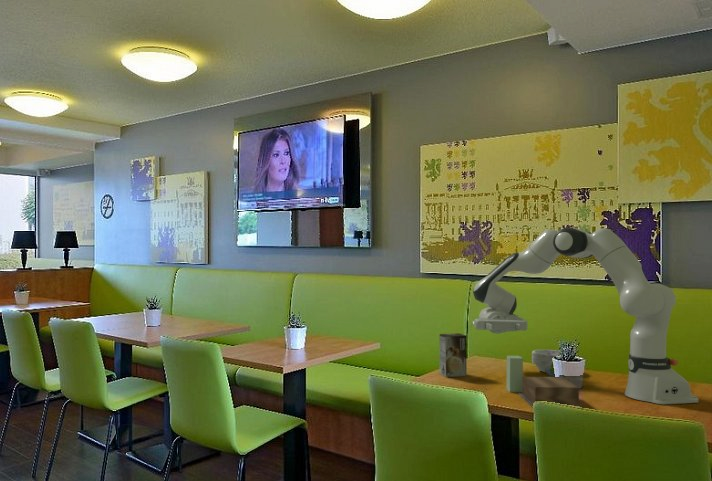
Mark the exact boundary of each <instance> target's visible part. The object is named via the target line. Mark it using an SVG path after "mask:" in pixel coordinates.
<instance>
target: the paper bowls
mask: <svg viewBox="0 0 712 481" xmlns="http://www.w3.org/2000/svg"><path fill="white" fill-rule="evenodd" d="M559 351H560V350H555V349H535V350H534V349H533V350H532V352H531V363H532V364H533V365H535V366H536V368H537V370H538V371H539V372H541V371H542V372H541V373H545V370H546V368H547V369H551V365H552V358H553V357H556V356H557V355H559ZM549 365H550V366H549ZM546 374H548V373H547V372H546Z"/></svg>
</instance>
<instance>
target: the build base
mask: <svg viewBox="0 0 712 481" xmlns="http://www.w3.org/2000/svg"><path fill="white" fill-rule="evenodd" d="M518 396H520V397H521V399H522V400H524V401H525V402H526V403H527V404H529V406H530V407H532V406H533V403H534V402H535V401H547V402H555V403H560V404H567V405H574V406H580V407H583V406H582V405H581V404H579V402H580V400H579V399H580V387H579V386H578V385H576V384H574V383H573V382H571V381H570V380H568V379H566V378H565V377H564V376H560V377H549V376H523V377H522V392H518Z"/></svg>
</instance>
